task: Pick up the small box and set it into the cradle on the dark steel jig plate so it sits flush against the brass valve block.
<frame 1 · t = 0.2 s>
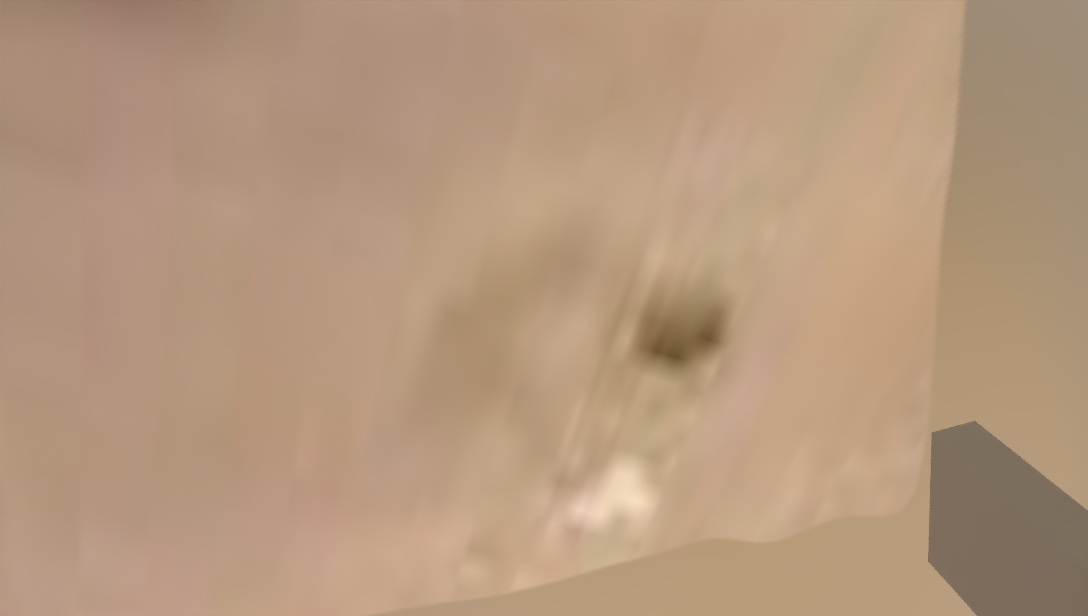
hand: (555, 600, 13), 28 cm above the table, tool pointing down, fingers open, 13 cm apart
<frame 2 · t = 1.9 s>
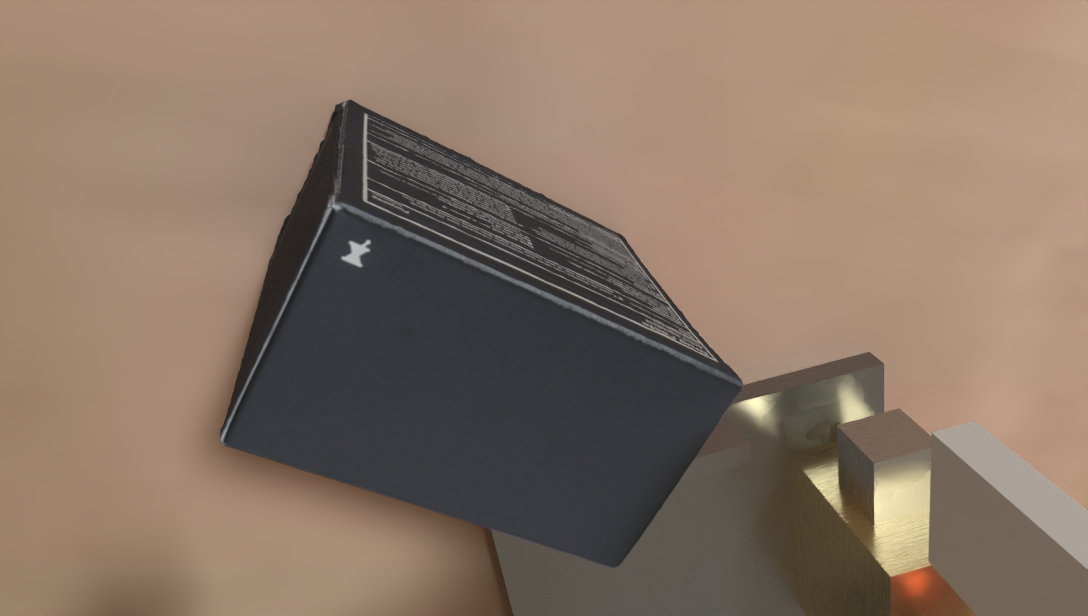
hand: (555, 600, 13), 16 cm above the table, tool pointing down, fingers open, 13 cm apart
small box: (450, 251, 28), on the table
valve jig: (693, 542, 35), on the table
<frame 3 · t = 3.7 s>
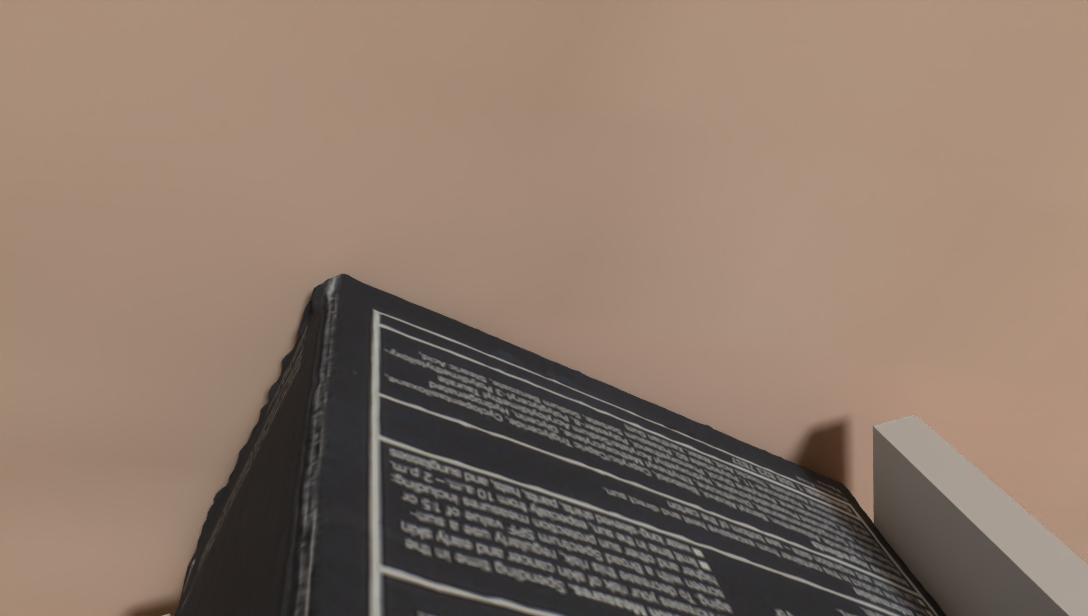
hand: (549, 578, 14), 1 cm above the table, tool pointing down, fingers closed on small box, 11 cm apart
small box: (530, 522, 15), on the table, touching gripper
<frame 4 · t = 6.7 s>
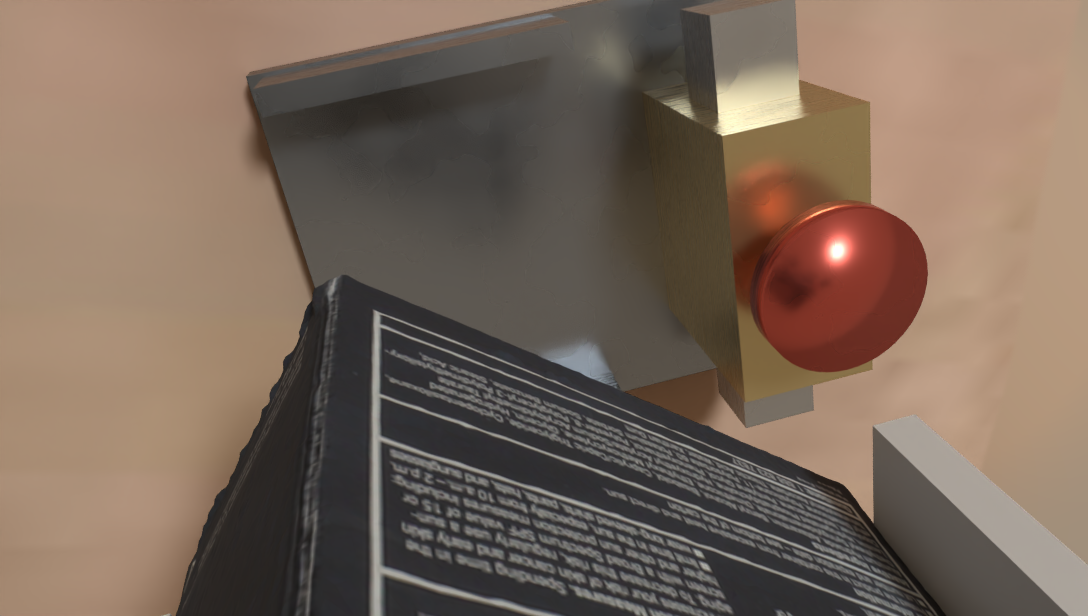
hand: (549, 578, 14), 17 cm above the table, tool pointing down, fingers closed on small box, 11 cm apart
small box: (531, 522, 15), point 16 cm above the table, touching gripper
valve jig: (540, 223, 29), on the table
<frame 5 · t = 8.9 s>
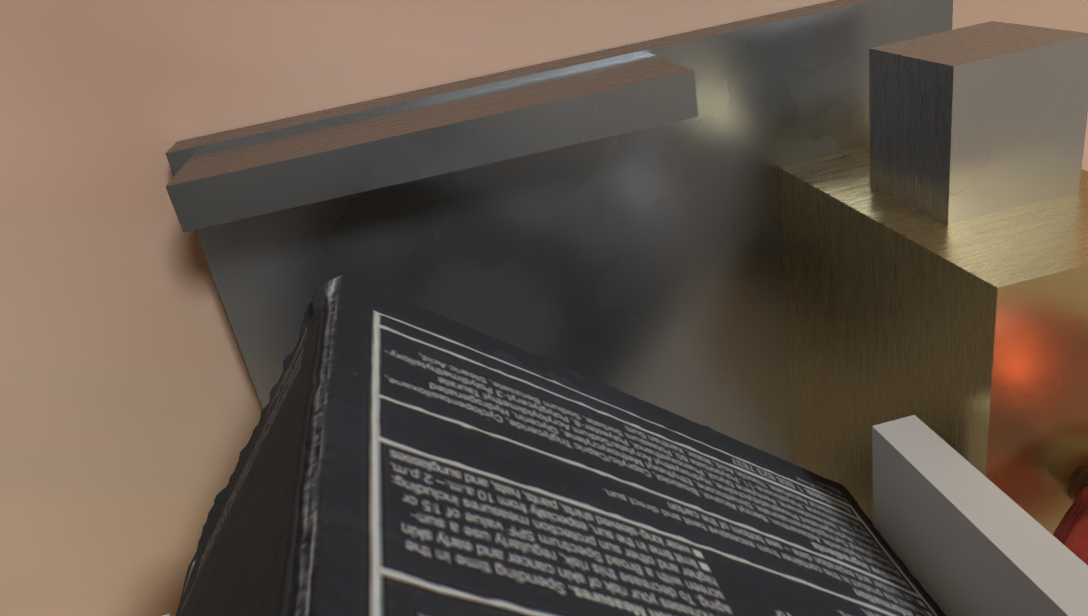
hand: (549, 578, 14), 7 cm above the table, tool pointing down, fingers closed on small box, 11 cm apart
small box: (530, 522, 15), point 5 cm above the table, touching gripper
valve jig: (614, 350, 20), on the table
when the fingers open (7 cm above the table, at t = 9.7 s): small box drops 5 cm, resting on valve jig.
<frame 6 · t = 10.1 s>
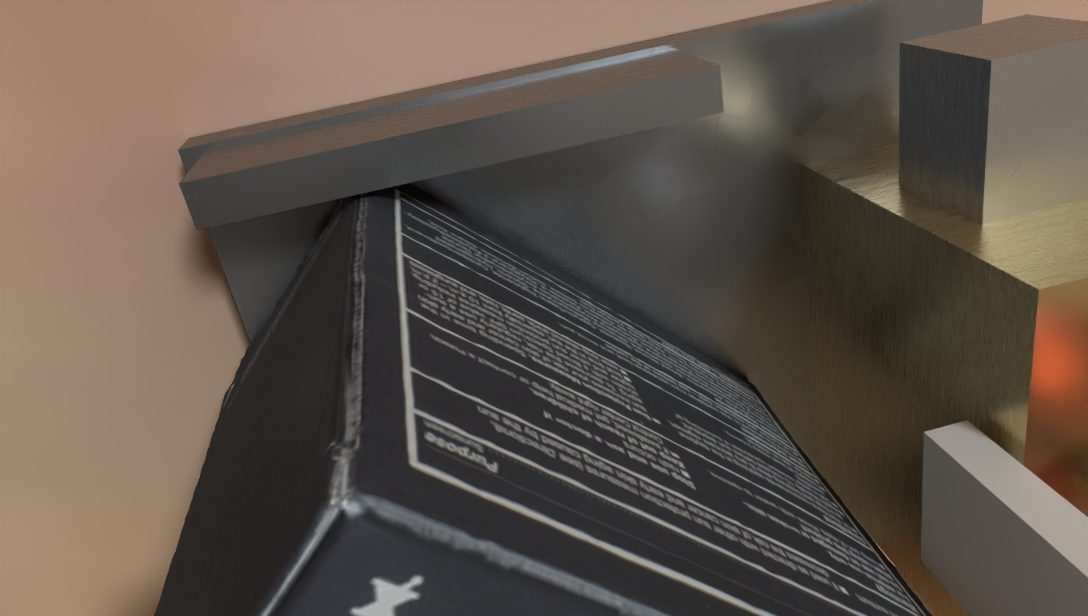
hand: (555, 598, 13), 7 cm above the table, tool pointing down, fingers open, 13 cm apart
small box: (499, 391, 19), point 1 cm above the table, touching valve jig
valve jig: (631, 351, 20), on the table
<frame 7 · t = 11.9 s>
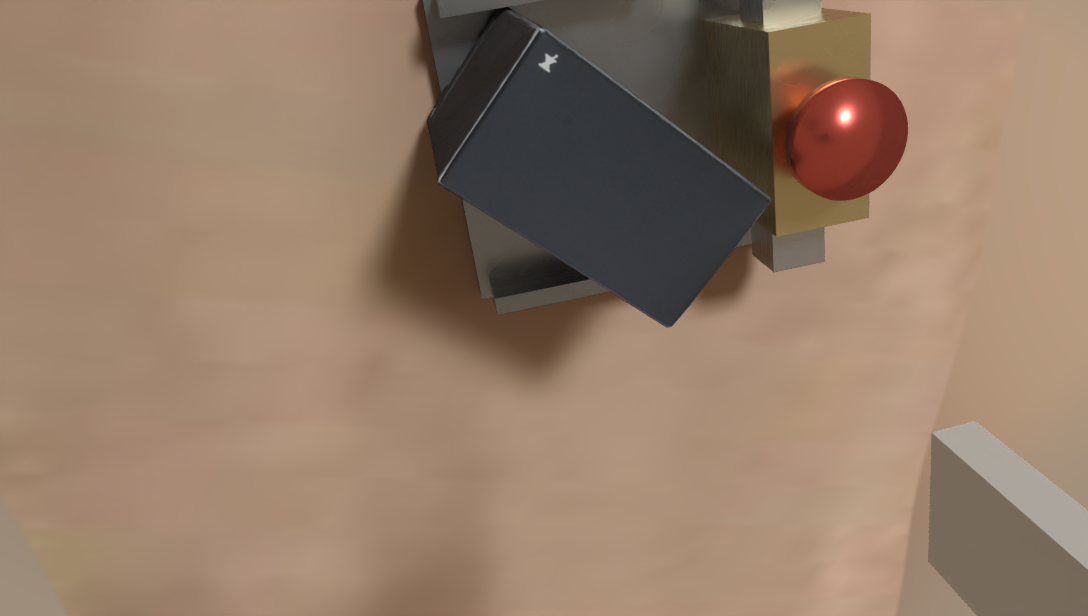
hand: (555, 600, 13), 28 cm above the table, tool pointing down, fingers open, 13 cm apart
small box: (554, 131, 38), point 1 cm above the table, touching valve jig
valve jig: (620, 121, 39), on the table
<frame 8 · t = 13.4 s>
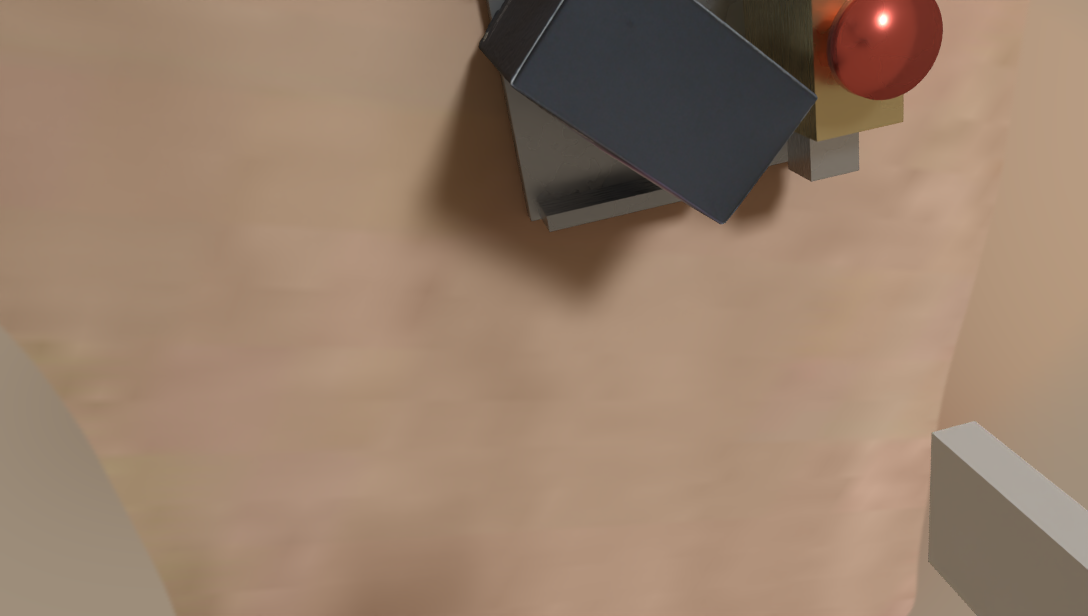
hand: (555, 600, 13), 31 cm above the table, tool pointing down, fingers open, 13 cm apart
small box: (598, 55, 40), point 1 cm above the table, touching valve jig
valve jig: (659, 45, 41), on the table
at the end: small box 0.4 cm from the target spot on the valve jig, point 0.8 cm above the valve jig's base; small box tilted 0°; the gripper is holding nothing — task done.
